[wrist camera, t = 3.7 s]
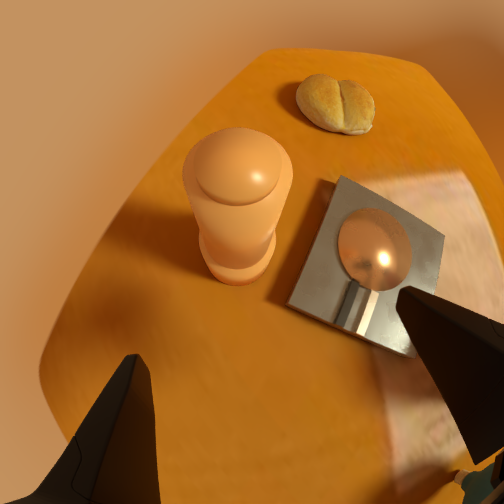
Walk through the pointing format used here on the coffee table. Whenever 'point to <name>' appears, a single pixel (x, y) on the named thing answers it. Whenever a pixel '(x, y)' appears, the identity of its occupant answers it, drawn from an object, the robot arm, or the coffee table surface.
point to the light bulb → (475, 484)
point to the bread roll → (336, 104)
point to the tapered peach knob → (237, 200)
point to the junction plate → (366, 266)
